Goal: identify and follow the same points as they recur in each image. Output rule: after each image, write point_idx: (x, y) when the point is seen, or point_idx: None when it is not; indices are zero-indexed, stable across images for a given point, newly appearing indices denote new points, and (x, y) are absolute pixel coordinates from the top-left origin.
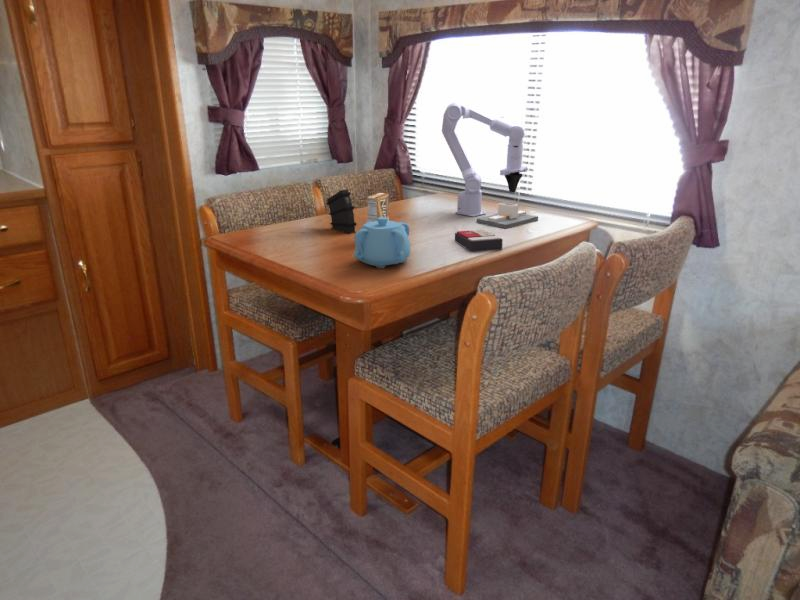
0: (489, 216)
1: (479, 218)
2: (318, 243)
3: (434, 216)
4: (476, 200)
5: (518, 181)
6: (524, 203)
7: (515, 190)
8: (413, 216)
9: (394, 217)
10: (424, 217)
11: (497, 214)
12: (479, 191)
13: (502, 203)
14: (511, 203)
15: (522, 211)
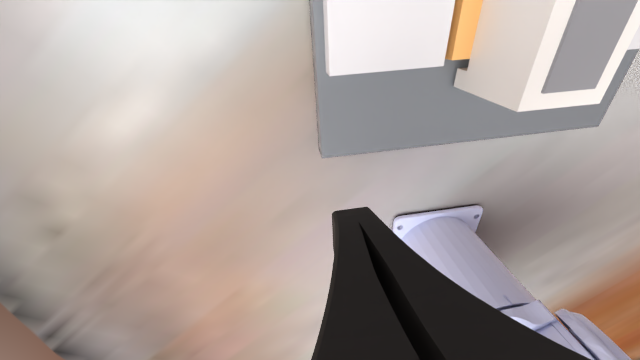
0: (519, 122)
1: (590, 119)
2: None
3: (535, 271)
4: (501, 269)
5: (343, 310)
6: (37, 288)
7: (343, 217)
8: (562, 294)
9: (595, 303)
10: (563, 274)
11: (448, 131)
12: (527, 318)
13: (597, 78)
14: (546, 30)
15: (346, 22)
